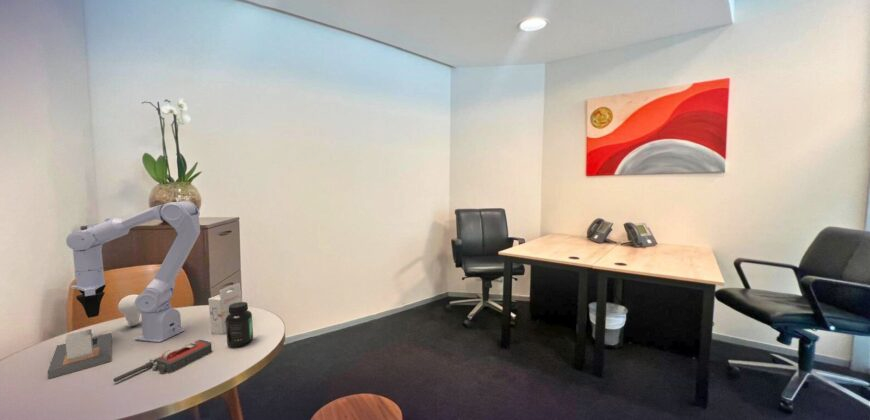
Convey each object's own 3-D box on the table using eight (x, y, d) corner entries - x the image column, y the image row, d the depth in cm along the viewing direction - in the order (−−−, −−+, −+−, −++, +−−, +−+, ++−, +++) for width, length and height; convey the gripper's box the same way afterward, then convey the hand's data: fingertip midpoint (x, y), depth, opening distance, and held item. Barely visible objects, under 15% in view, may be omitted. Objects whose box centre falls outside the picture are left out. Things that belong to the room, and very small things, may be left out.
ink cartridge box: (231, 322, 111) (229, 281, 110) (244, 323, 110) (241, 282, 109) (210, 333, 103) (207, 289, 102) (223, 334, 102) (220, 290, 101)
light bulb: (135, 321, 112) (133, 291, 111) (152, 322, 111) (149, 292, 110) (114, 330, 105) (111, 298, 105) (131, 331, 105) (128, 299, 104)
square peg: (92, 355, 86) (90, 334, 85) (67, 362, 83) (65, 340, 82) (93, 349, 89) (91, 329, 89) (69, 355, 86) (67, 334, 85)
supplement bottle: (258, 340, 98) (256, 302, 97) (236, 350, 92) (233, 310, 91) (244, 335, 101) (242, 299, 100) (222, 345, 95) (219, 306, 94)
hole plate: (111, 361, 87) (110, 354, 87) (48, 379, 79) (47, 370, 79) (111, 338, 100) (111, 332, 99) (57, 352, 92) (57, 345, 92)
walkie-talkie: (197, 345, 96) (111, 384, 77) (196, 331, 96) (109, 367, 77) (217, 350, 93) (132, 393, 74) (216, 336, 92) (131, 375, 74)
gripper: (71, 267, 98) (76, 310, 99) (66, 277, 87) (71, 324, 89) (104, 263, 103) (108, 303, 104) (103, 271, 92) (107, 316, 94)
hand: (93, 312), depth 96 cm, fingers open, 7 cm apart
